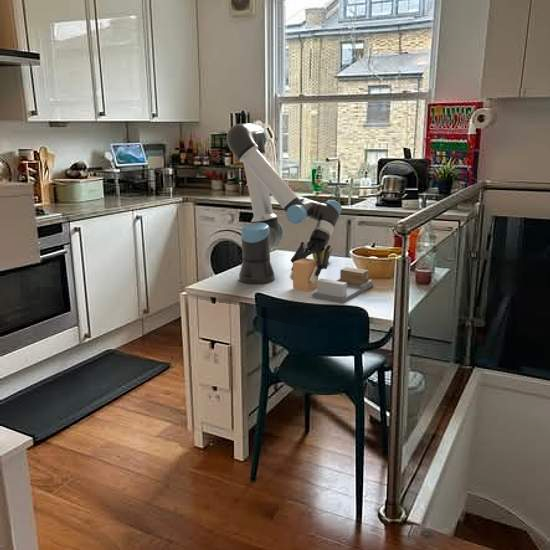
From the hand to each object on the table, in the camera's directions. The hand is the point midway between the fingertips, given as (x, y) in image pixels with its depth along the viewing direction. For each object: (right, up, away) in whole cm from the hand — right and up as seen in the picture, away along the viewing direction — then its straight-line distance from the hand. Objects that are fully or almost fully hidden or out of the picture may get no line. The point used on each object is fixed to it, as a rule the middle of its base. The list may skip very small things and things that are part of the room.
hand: (301, 280), depth 219 cm
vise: (+16, -4, -3) cm, 17 cm away
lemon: (+12, +8, +42) cm, 44 cm away
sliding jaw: (+22, -1, +4) cm, 22 cm away
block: (+2, -3, +4) cm, 5 cm away
